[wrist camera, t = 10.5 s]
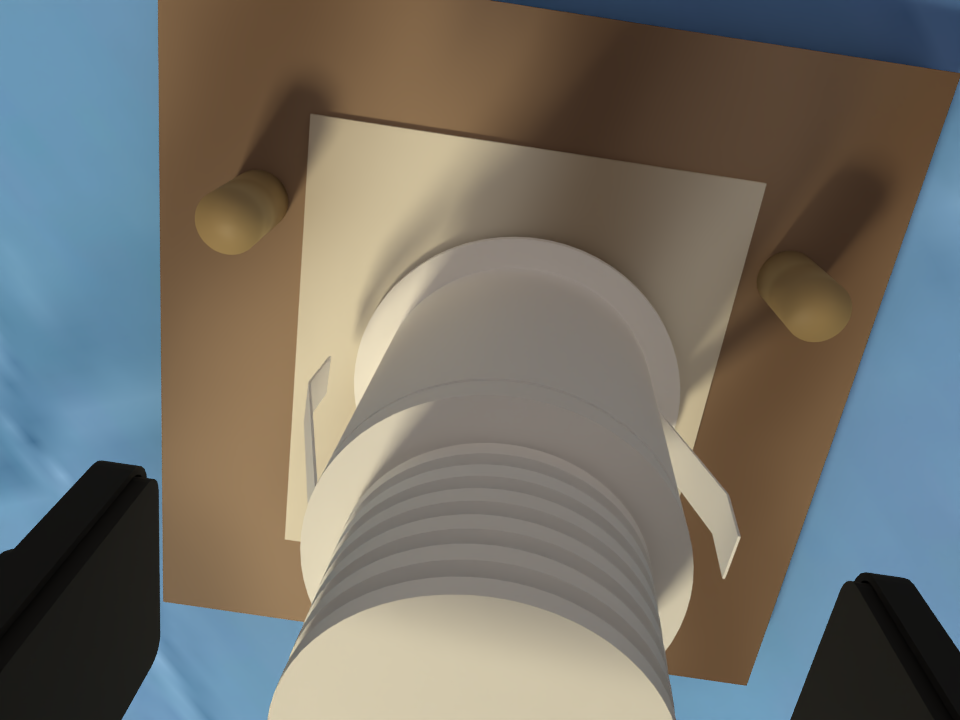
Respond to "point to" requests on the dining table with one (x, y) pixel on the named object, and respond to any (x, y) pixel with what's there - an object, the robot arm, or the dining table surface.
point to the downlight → (502, 502)
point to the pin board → (514, 213)
